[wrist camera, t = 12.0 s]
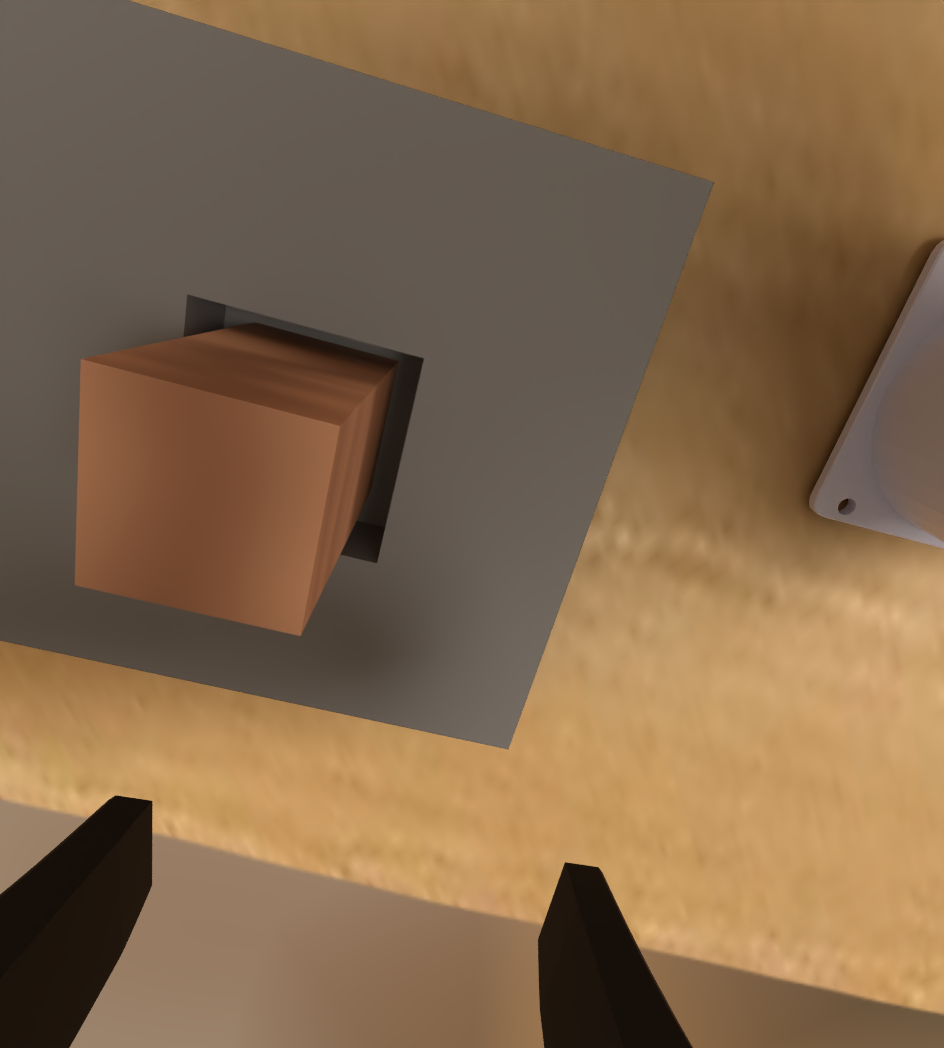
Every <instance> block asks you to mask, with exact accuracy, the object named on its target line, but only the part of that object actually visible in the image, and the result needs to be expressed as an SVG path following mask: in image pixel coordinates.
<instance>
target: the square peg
mask: <svg viewBox="0 0 944 1048" xmlns="http://www.w3.org/2000/svg"><path fill="white" fill-rule="evenodd" d="M398 362H399V361H397V360H393V359H390V358H386V357H382V356H379V355H375V354H371V353H368V352H364V351H360V350H356V349H353V348H349V347H345V346H342V345H338V344H334V343H331V342H327V341H323V340H319V339H316V338H312V337H308V336H305V335H301V334H297V333H294V332H290V331H286V330H282V329H279V328H275V327H271V326H268V325H264V324H260V323H257V322H253V323H249V324H244V325H239V326H235V327H230V328H225V329H220V330H216V331H211V332H206V333H201V334H197V335H192V336H187V337H183V338H178V339H173V340H168V341H164V342H159V343H154V344H149V345H145V346H140V347H135V348H130V349H126V350H121V351H116V352H112V353H107V354H102V355H97V356H93V357H88V358H83V359H81V372H80V408H79V445H78V482H77V518H76V555H75V585H76V586H81V587H85V588H90V589H94V590H99V591H103V592H107V593H112V594H116V595H121V596H125V597H130V598H134V599H138V600H143V601H147V602H152V603H156V604H161V605H165V606H169V607H174V608H178V609H183V610H187V611H192V612H196V613H200V614H205V615H209V616H214V617H218V618H223V619H227V620H231V621H236V622H240V623H245V624H249V625H254V626H258V627H262V628H267V629H271V630H276V631H280V632H285V633H289V634H293V635H298V636H301V634H302V632H303V630H304V628H305V626H306V624H307V622H308V620H309V618H310V616H311V614H312V611H313V609H314V607H315V605H316V603H317V601H318V599H319V597H320V595H321V593H322V591H323V589H324V587H325V585H326V583H327V581H328V579H329V577H330V574H331V572H332V570H333V568H334V566H335V564H336V562H337V560H338V558H339V556H340V554H341V552H342V550H343V548H344V546H345V544H346V542H347V539H348V537H349V535H350V533H351V531H352V529H353V527H354V525H355V523H356V521H357V519H358V517H359V515H360V513H361V511H362V509H363V507H364V505H365V502H366V500H367V498H368V496H369V494H370V492H371V487H372V483H373V478H374V473H375V469H376V464H377V459H378V455H379V450H380V446H381V441H382V436H383V432H384V427H385V422H386V418H387V413H388V408H389V404H390V399H391V395H392V390H393V385H394V381H395V376H396V371H397V367H398Z"/></svg>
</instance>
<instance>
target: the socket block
mask: <svg viewBox="0 0 944 1048" xmlns="http://www.w3.org/2000/svg"><path fill="white" fill-rule="evenodd" d="M713 184H714V182H712V181H708V180H705V179H702V178H699V177H695V176H692V175H689V174H686V173H683V172H679V171H676V170H673V169H670V168H666V167H663V166H660V165H657V164H654V163H650V162H647V161H644V160H641V159H637V158H634V157H631V156H628V155H625V154H621V153H618V152H615V151H612V150H609V149H605V148H602V147H599V146H596V145H592V144H589V143H586V142H583V141H580V140H576V139H573V138H570V137H567V136H563V135H560V134H557V133H554V132H551V131H547V130H544V129H541V128H538V127H535V126H531V125H528V124H525V123H522V122H518V121H515V120H512V119H509V118H506V117H502V116H499V115H496V114H493V113H489V112H486V111H483V110H480V109H477V108H473V107H470V106H467V105H464V104H461V103H457V102H454V101H451V100H448V99H444V98H441V97H438V96H435V95H432V94H428V93H425V92H422V91H419V90H415V89H412V88H409V87H406V86H403V85H399V84H396V83H393V82H390V81H387V80H383V79H380V78H377V77H374V76H370V75H367V74H364V73H361V72H358V71H354V70H351V69H348V68H345V67H341V66H338V65H335V64H332V63H329V62H325V61H322V60H319V59H316V58H313V57H309V56H306V55H303V54H300V53H296V52H293V51H290V50H287V49H284V48H280V47H277V46H274V45H271V44H267V43H264V42H261V41H258V40H255V39H251V38H248V37H245V36H242V35H238V34H235V33H232V32H229V31H226V30H222V29H219V28H216V27H213V26H210V25H206V24H203V23H200V22H197V21H193V20H190V19H187V18H184V17H181V16H177V15H174V14H171V13H168V12H164V11H161V10H158V9H155V8H152V7H148V6H145V5H142V4H139V3H136V2H132V1H129V0H0V641H5V642H10V643H14V644H19V645H24V646H28V647H33V648H38V649H42V650H47V651H52V652H56V653H61V654H66V655H70V656H75V657H80V658H84V659H89V660H94V661H98V662H103V663H108V664H112V665H117V666H122V667H126V668H131V669H136V670H140V671H145V672H150V673H154V674H159V675H164V676H168V677H173V678H178V679H182V680H187V681H192V682H196V683H201V684H205V685H210V686H215V687H219V688H224V689H229V690H233V691H238V692H243V693H247V694H252V695H257V696H261V697H266V698H271V699H275V700H280V701H285V702H289V703H294V704H299V705H303V706H308V707H313V708H317V709H322V710H327V711H331V712H336V713H341V714H345V715H350V716H355V717H359V718H364V719H369V720H373V721H378V722H383V723H387V724H392V725H397V726H401V727H406V728H410V729H415V730H420V731H424V732H429V733H434V734H438V735H443V736H448V737H452V738H457V739H462V740H466V741H471V742H476V743H480V744H485V745H490V746H494V747H499V748H504V749H509V746H510V743H511V740H512V738H513V735H514V732H515V729H516V727H517V724H518V721H519V718H520V716H521V713H522V710H523V707H524V705H525V702H526V699H527V696H528V694H529V691H530V688H531V685H532V683H533V680H534V677H535V674H536V672H537V669H538V666H539V663H540V661H541V658H542V655H543V652H544V650H545V647H546V644H547V641H548V638H549V636H550V633H551V630H552V627H553V625H554V622H555V619H556V616H557V614H558V611H559V608H560V605H561V603H562V600H563V597H564V594H565V592H566V589H567V586H568V583H569V581H570V578H571V575H572V572H573V570H574V567H575V564H576V561H577V559H578V556H579V553H580V550H581V548H582V545H583V542H584V539H585V537H586V534H587V531H588V528H589V525H590V523H591V520H592V517H593V514H594V512H595V509H596V506H597V503H598V501H599V498H600V495H601V492H602V490H603V487H604V484H605V481H606V479H607V476H608V473H609V470H610V468H611V465H612V462H613V459H614V457H615V454H616V451H617V448H618V446H619V443H620V440H621V437H622V435H623V432H624V429H625V426H626V424H627V421H628V418H629V415H630V412H631V410H632V407H633V404H634V401H635V399H636V396H637V393H638V390H639V388H640V385H641V382H642V379H643V377H644V374H645V371H646V368H647V366H648V363H649V360H650V357H651V355H652V352H653V349H654V346H655V344H656V341H657V338H658V335H659V333H660V330H661V327H662V324H663V322H664V319H665V316H666V313H667V310H668V308H669V305H670V302H671V299H672V297H673V294H674V291H675V288H676V286H677V283H678V280H679V277H680V275H681V272H682V269H683V266H684V264H685V261H686V258H687V255H688V253H689V250H690V247H691V244H692V242H693V239H694V236H695V233H696V231H697V228H698V225H699V222H700V220H701V217H702V214H703V211H704V209H705V206H706V203H707V200H708V197H709V195H710V192H711V189H712V186H713ZM253 322H257V323H260V324H264V325H268V326H271V327H275V328H279V329H282V330H286V331H290V332H294V333H297V334H301V335H305V336H308V337H312V338H316V339H319V340H323V341H327V342H331V343H334V344H338V345H342V346H345V347H349V348H353V349H356V350H360V351H364V352H368V353H371V354H375V355H379V356H382V357H386V358H390V359H393V360H397V361H399V362H398V367H397V371H396V376H395V381H394V385H393V390H392V395H391V399H390V404H389V408H388V413H387V418H386V422H385V427H384V432H383V436H382V441H381V446H380V450H379V455H378V459H377V464H376V469H375V473H374V478H373V483H372V487H371V492H370V494H369V496H368V498H367V500H366V502H365V505H364V507H363V509H362V511H361V513H360V515H359V517H358V519H357V521H356V523H355V525H354V527H353V529H352V531H351V533H350V535H349V537H348V539H347V542H346V544H345V546H344V548H343V550H342V552H341V554H340V556H339V558H338V560H337V562H336V564H335V566H334V568H333V570H332V572H331V574H330V577H329V579H328V581H327V583H326V585H325V587H324V589H323V591H322V593H321V595H320V597H319V599H318V601H317V603H316V605H315V607H314V609H313V611H312V614H311V616H310V618H309V620H308V622H307V624H306V626H305V628H304V630H303V632H302V634H301V636H298V635H293V634H289V633H285V632H280V631H276V630H271V629H267V628H262V627H258V626H254V625H249V624H245V623H240V622H236V621H231V620H227V619H223V618H218V617H214V616H209V615H205V614H200V613H196V612H192V611H187V610H183V609H178V608H174V607H169V606H165V605H161V604H156V603H152V602H147V601H143V600H138V599H134V598H130V597H125V596H121V595H116V594H112V593H107V592H103V591H99V590H94V589H90V588H85V587H81V586H76V585H75V555H76V518H77V482H78V445H79V408H80V372H81V359H83V358H88V357H93V356H97V355H102V354H107V353H112V352H116V351H121V350H126V349H130V348H135V347H140V346H145V345H149V344H154V343H159V342H164V341H168V340H173V339H178V338H183V337H187V336H192V335H197V334H201V333H206V332H211V331H216V330H220V329H225V328H230V327H235V326H239V325H244V324H249V323H253Z"/></svg>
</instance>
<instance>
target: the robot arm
mask: <svg viewBox="0 0 944 1048" xmlns="http://www.w3.org/2000/svg"><path fill="white" fill-rule="evenodd" d="M845 499H848V500H849V501H848V505H847V506H846V507H845V508H844V509H842V510H838V505H839V504H840V502H841V501H843V500H845ZM809 505H810V508H811V509H812V510H813V511H814V512H815V513H817V514H818V515H820V516H822V517H824V518H828V519H832V520H836V521H840V522H844V523H847V524H851V525H855V526H859V527H863V528H866V529H870V530H874V531H878V532H882V533H885V534H889V535H893V536H897V537H901V538H904V539H908V540H912V541H916V542H920V543H923V544H927V545H931V546H935V547H939V548H943V549H944V240H943V241H941V242H940V243H939V244H938V245H936V247H935V248H934V249H933V251H932V252H931V254H930V256H929V258H928V260H927V262H926V264H925V266H924V268H923V270H922V272H921V274H920V276H919V278H918V280H917V282H916V284H915V286H914V288H913V290H912V292H911V294H910V296H909V298H908V300H907V302H906V304H905V306H904V308H903V310H902V312H901V314H900V316H899V318H898V320H897V322H896V324H895V326H894V328H893V330H892V332H891V334H890V336H889V338H888V340H887V342H886V344H885V346H884V348H883V350H882V352H881V354H880V356H879V358H878V360H877V363H876V365H875V367H874V369H873V371H872V373H871V375H870V377H869V379H868V381H867V383H866V385H865V387H864V389H863V391H862V393H861V395H860V397H859V399H858V401H857V403H856V405H855V407H854V409H853V411H852V413H851V415H850V417H849V419H848V421H847V423H846V425H845V427H844V429H843V431H842V433H841V435H840V437H839V439H838V441H837V443H836V445H835V447H834V449H833V451H832V453H831V455H830V457H829V459H828V461H827V463H826V465H825V467H824V469H823V471H822V473H821V475H820V477H819V479H818V481H817V483H816V485H815V487H814V489H813V491H812V493H811V495H810V499H809ZM151 886H152V801H149V800H143V799H136V798H129V797H122V796H114V797H113V798H111V799H109V800H108V801H107V802H106V803H105V804H104V805H103V806H101V807H100V808H99V809H98V810H97V811H96V812H95V813H94V814H93V815H92V816H90V817H89V818H88V819H87V820H86V821H85V822H84V823H83V824H82V825H80V826H79V827H78V828H77V829H76V830H75V831H74V832H73V833H71V834H70V835H69V836H68V837H67V838H66V839H65V840H64V841H62V842H61V843H60V844H59V845H58V846H57V847H56V848H54V849H53V850H52V851H51V852H50V853H49V854H48V855H46V856H45V857H44V858H43V859H42V860H41V861H40V862H39V863H37V864H36V865H35V866H34V867H33V868H31V869H30V870H29V871H28V872H27V873H26V874H24V875H23V876H22V877H21V878H20V879H18V880H17V881H16V882H15V883H14V884H12V885H11V886H10V887H9V888H8V889H6V890H5V891H4V892H3V893H2V894H0V1048H69V1047H70V1046H71V1044H72V1042H73V1040H74V1038H75V1037H76V1035H77V1033H78V1031H79V1030H80V1028H81V1026H82V1024H83V1023H84V1021H85V1019H86V1017H87V1015H88V1013H89V1012H90V1010H91V1008H92V1007H93V1005H94V1003H95V1001H96V999H97V998H98V996H99V994H100V992H101V990H102V988H103V987H104V985H105V983H106V981H107V979H108V978H109V976H110V974H111V972H112V971H113V969H114V967H115V965H116V963H117V961H118V960H119V958H120V956H121V954H122V952H123V950H124V948H125V946H126V943H127V941H128V939H129V937H130V935H131V932H132V930H133V928H134V926H135V923H136V921H137V919H138V916H139V914H140V912H141V910H142V907H143V905H144V903H145V900H146V898H147V896H148V893H149V891H150V889H151ZM538 959H539V994H540V995H539V996H540V1013H541V1022H542V1031H543V1039H544V1048H693V1047H692V1046H691V1044H690V1042H689V1040H688V1038H687V1037H686V1035H685V1033H684V1031H683V1030H682V1028H681V1026H680V1024H679V1023H678V1021H677V1019H676V1017H675V1016H674V1014H673V1012H672V1010H671V1008H670V1006H669V1004H668V1003H667V1001H666V999H665V997H664V995H663V993H662V991H661V990H660V988H659V986H658V984H657V982H656V980H655V979H654V977H653V975H652V973H651V971H650V969H649V967H648V965H647V963H646V962H645V959H644V958H643V956H642V954H641V952H640V950H639V948H638V946H637V944H636V942H635V940H634V938H633V936H632V934H631V932H630V930H629V928H628V926H627V924H626V922H625V919H624V917H623V915H622V913H621V911H620V909H619V907H618V905H617V903H616V901H615V899H614V897H613V894H612V892H611V890H610V888H609V886H608V884H607V882H606V879H605V877H604V875H603V873H602V872H601V870H600V869H599V867H593V866H586V865H579V864H573V863H566V862H565V864H564V867H563V870H562V873H561V876H560V878H559V881H558V884H557V887H556V890H555V893H554V895H553V898H552V901H551V904H550V907H549V910H548V913H547V915H546V918H545V921H544V924H543V927H542V930H541V933H540V936H539V939H538Z"/></svg>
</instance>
